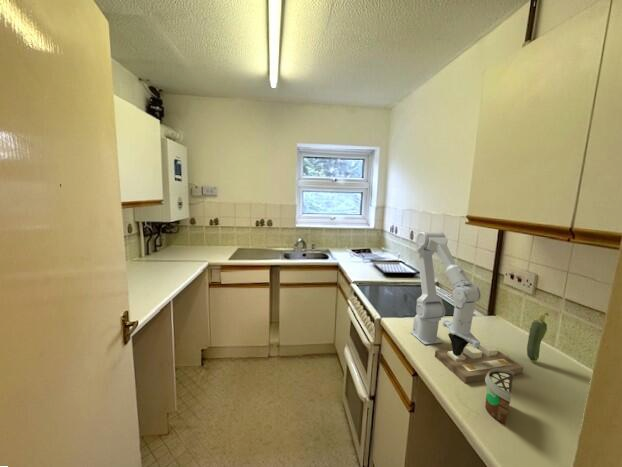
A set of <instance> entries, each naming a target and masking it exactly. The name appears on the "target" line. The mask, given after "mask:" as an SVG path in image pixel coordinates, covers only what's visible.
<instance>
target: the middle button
mask: <svg viewBox="0 0 622 467" xmlns="http://www.w3.org/2000/svg"><path fill="white" fill-rule="evenodd" d="M463 352H464V353H465V354H466V355H468V356H469V357H470V358H472V359H477V358H481V357H482V352H481V351H480V350H479V349H477V348H474V347H473V346H472V345H466V346H465V348H464V351H463Z"/></svg>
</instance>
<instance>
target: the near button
mask: <svg viewBox="0 0 622 467" xmlns="http://www.w3.org/2000/svg"><path fill="white" fill-rule="evenodd" d="M447 355H449V356H450V357H451V358H452V359H454V360H455V361H462V360H465V359H466V357H465V356H464V355H462V354H461V355H459V356H455V355H454V354H453V351H448V353H447Z"/></svg>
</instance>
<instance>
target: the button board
mask: <svg viewBox="0 0 622 467" xmlns="http://www.w3.org/2000/svg"><path fill="white" fill-rule="evenodd" d="M477 349H479V347H477ZM434 351H435V352H434V357H435V358H436V359H437V360H438V361H439V362H440V361H441V362H442V363H441V362H440V363H441V364H442V365H443V366H444V367H446V368H447V369H448V370H449V371H450V372H452V373H453V374H454V375H455V376H456V377H457V378H458V379H459V380H461V381H462V382H463V383H464V384H470V383H475V382H476V383H477V382H481V381H485V377H486V376H487V374H488V372H489V371H490V370H492V369H505V370H509V371H512V372H514V376H517V375H523V372H524V370H525V369H524V368H525V367H523V366H522V365H521V364H520V363H518V362H516V361H514V360H513V359H512V358H510V357H508V356H507V355H506V354H503V352H501V351H499V350H498V352H497V356H491V357H488V356H486V355H485V354H483V353H482V357H481V358H477V359H472V358H470V357H469V356H468V355H466V354H465V353H464V352H463V351H464V349H463V351H462V353H461V354H462V355H464V356H465V357H466V359H465V360H462V361H455V360H454V359H452V358H451V357H450V356H449V355H447V353H448V351H453V350H452V348H445V349H437V350H434Z"/></svg>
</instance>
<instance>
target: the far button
mask: <svg viewBox="0 0 622 467" xmlns="http://www.w3.org/2000/svg"><path fill="white" fill-rule="evenodd" d="M479 350H480V351H481V352H482V353H483V354H485V355H486V356H488V357H491V356H497V352H498V351H499V350H498V349H497V348H495V347H494V346H493V345H491V344H489V343H484V344H483V343H482V344H480V347H479Z"/></svg>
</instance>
